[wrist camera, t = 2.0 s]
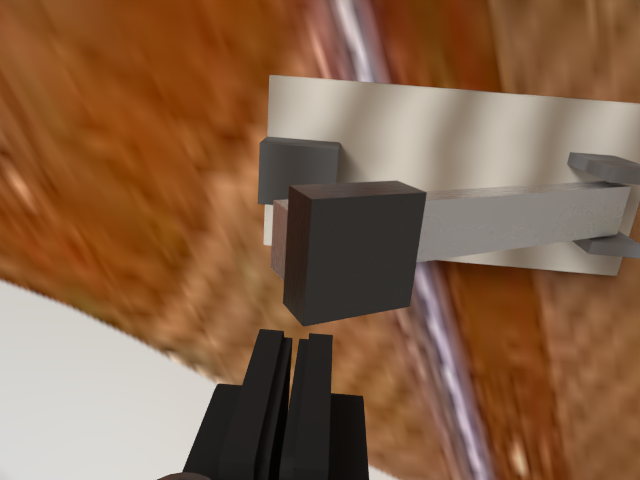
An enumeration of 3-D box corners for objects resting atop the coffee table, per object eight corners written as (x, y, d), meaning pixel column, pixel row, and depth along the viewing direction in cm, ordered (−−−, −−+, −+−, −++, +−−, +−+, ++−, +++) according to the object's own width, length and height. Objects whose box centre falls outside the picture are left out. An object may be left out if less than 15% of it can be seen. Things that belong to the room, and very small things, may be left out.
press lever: (611, 164, 29) (672, 177, 26) (590, 241, 31) (645, 261, 28) (274, 176, 20) (311, 199, 17) (270, 287, 21) (303, 326, 18)
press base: (650, 104, 33) (734, 114, 26) (603, 265, 37) (663, 312, 30) (274, 74, 34) (253, 76, 27) (267, 235, 38) (248, 275, 31)
